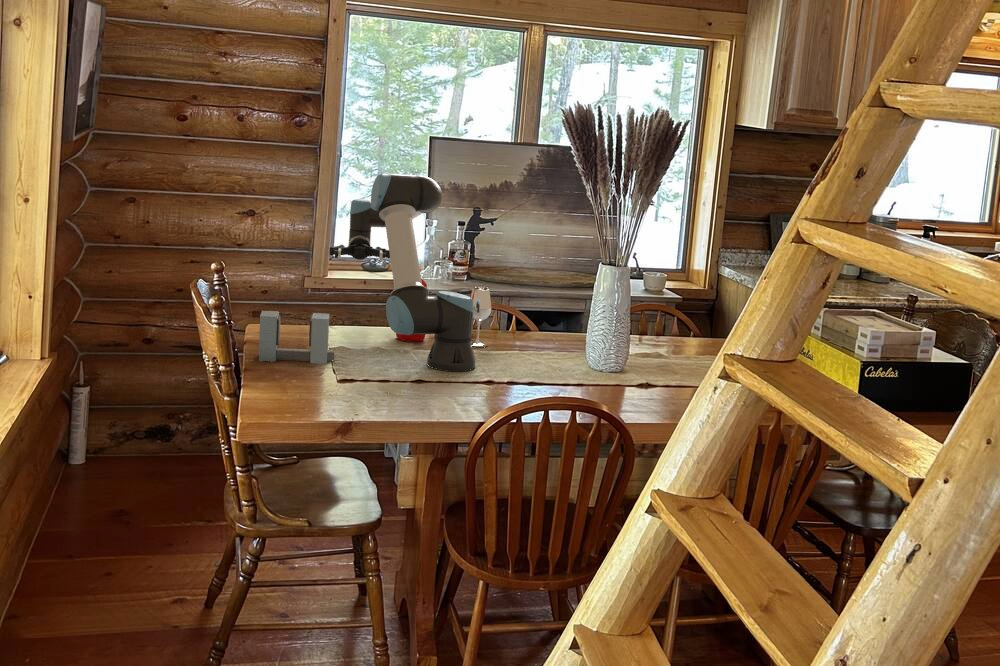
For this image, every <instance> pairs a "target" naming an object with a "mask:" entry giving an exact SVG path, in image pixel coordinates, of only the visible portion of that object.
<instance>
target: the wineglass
mask: <svg viewBox="0 0 1000 666" xmlns="http://www.w3.org/2000/svg"><path fill="white" fill-rule="evenodd" d="M471 298H472V300H473V311H474V313H473V321H476V324H477V325H476V327H477V331H476V339H475V341H471V345H472V346H483V345H485V344H486V343H485V344H484V342H481V340H480V337H479V336H480V325H481V322H483V321H484V320H486V319H487V318H489V316H490V314H491V312H492V301H491V293H490V288H488V287H485V286H483V287H482V286H475V287H472V294H471Z"/></svg>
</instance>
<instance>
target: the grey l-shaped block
mask: <svg viewBox="0 0 1000 666" xmlns="http://www.w3.org/2000/svg"><path fill="white" fill-rule="evenodd" d="M258 338H259V340H258V346H259V347H258V362H263V361H268V362H267V363H269V361H270V362H271V363H276V362H277V361H294V360H295V362H296V361H297V362H298V361H299V362H300V361H301V362H302V361H303V362H310V354H311V348H310V349H308V348H307V349H305V348H283V347H282V348H281V347H279V344H280V342H281V341H280V340H281V314H280V312H279V311H278V310H276V311H274V310H261V313H260V315H259V337H258ZM332 360H334V361H335V350H332V349H328V350H327V363H332V362H331V361H332Z"/></svg>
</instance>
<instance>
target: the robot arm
mask: <svg viewBox="0 0 1000 666" xmlns="http://www.w3.org/2000/svg"><path fill="white" fill-rule="evenodd" d="M442 202H443V190H442V189H441V186H440V185H439V184H438V183H437V182H436V181H435V179H432V178H431V177H428V176H424V175H422V174H421V175H419V174H418V175H417V174H415V175H414V174H397V173H396V174H394V173H393V174H392V173H380V174H379V175H377V176H376V177H375V178H374V181H373V183H372V188H371V194H370V200H369V199H353V200H352V201H351V202H350V212H349V213H350V214H349V215H350V216H349V233H348V234H349V237H348V245H347V246H345V245H344V244H339V245H336V246H331V247H329V252H328V253H329V256H334V258H335V259H338V260H341V256H351V257H352V258H353V259H354V260H359V261H360V260H364V259H366V258H368V257H369V258H370V257H375V258H379V262H383V259H390V265H391V272H392V279H393V280H392V281H393V287H394V289H393V290H392V291H391V293H390V296H389V297H388V298H387V299H386V304H385V309H386V310H385V314H386V320H387V322H388V325H389V328H390V330H392V331H393V333H395V334H396V333H397V334H406V335H411V334H425V335H434V337H433V338H434V339H433V343H432V345H431V348H430V351H429V353H428V356H427V360H426V365H427V364H428V365H429V366H430V367H429V366H428V365H427V366H428V367H429V368H431V367H433V368H432V369H434V368H437V369H436V370H438V369H441V370H440V371H443V370H448V371H447V372H466V371H465V370H469V371H471V370H470V369H472V370H474V369H476V357H475V354H474V348H473V347H472V345H471V342H472V334H473V333H472V324H473V325H474V319H473V313H474V311H473V300H472V298H471V297H469V296H466V295H463V294H459V293H454V292H448V291H445V290H438V291H437V292H436V295H435V296H430V295H429V290H428V289H429V288H428V287H427V288H426V287H425V286H423V285H422V281H421V279H422V276H421V272H420V271H421V268H420V263H419V257H418V256H419V255H418V250H417V249H418V248H417V244H416V236H415V230H414V223H413V220H414V219H415V218H417V217H419V216H421V215H422V214H431V213H432V212H434V211H436V210H437V209H439V207H440V205H441V204H442ZM372 228H385V232H386V238H387V245H388V249H386V248H383V247H380V246H376V247H375V248H373V246H371V234H372ZM473 368H474V369H473Z"/></svg>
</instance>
